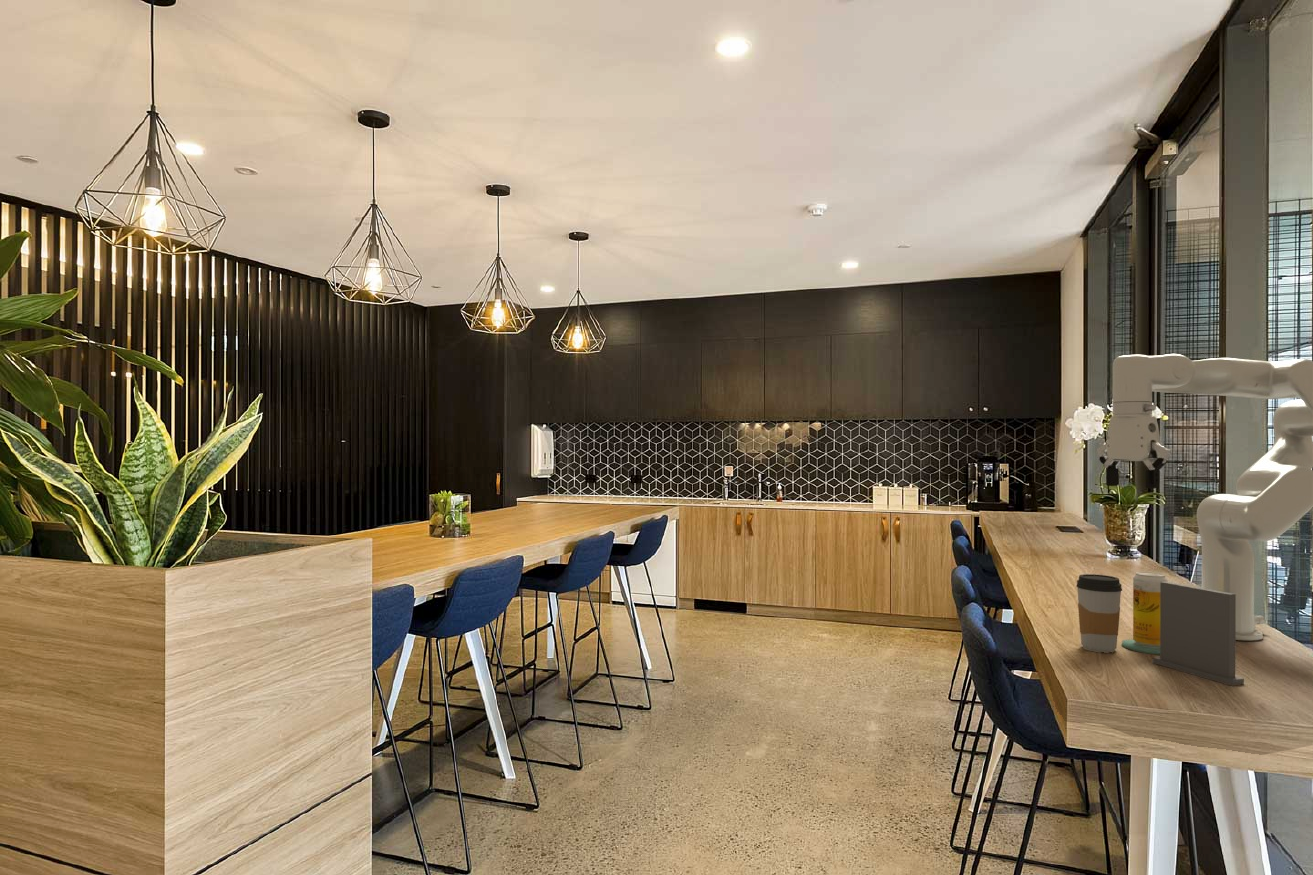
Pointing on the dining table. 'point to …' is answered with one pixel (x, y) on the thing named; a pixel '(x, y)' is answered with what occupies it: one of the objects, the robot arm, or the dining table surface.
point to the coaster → (1139, 647)
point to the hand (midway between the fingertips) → (1131, 486)
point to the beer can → (1147, 608)
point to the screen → (1198, 632)
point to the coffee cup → (1099, 611)
